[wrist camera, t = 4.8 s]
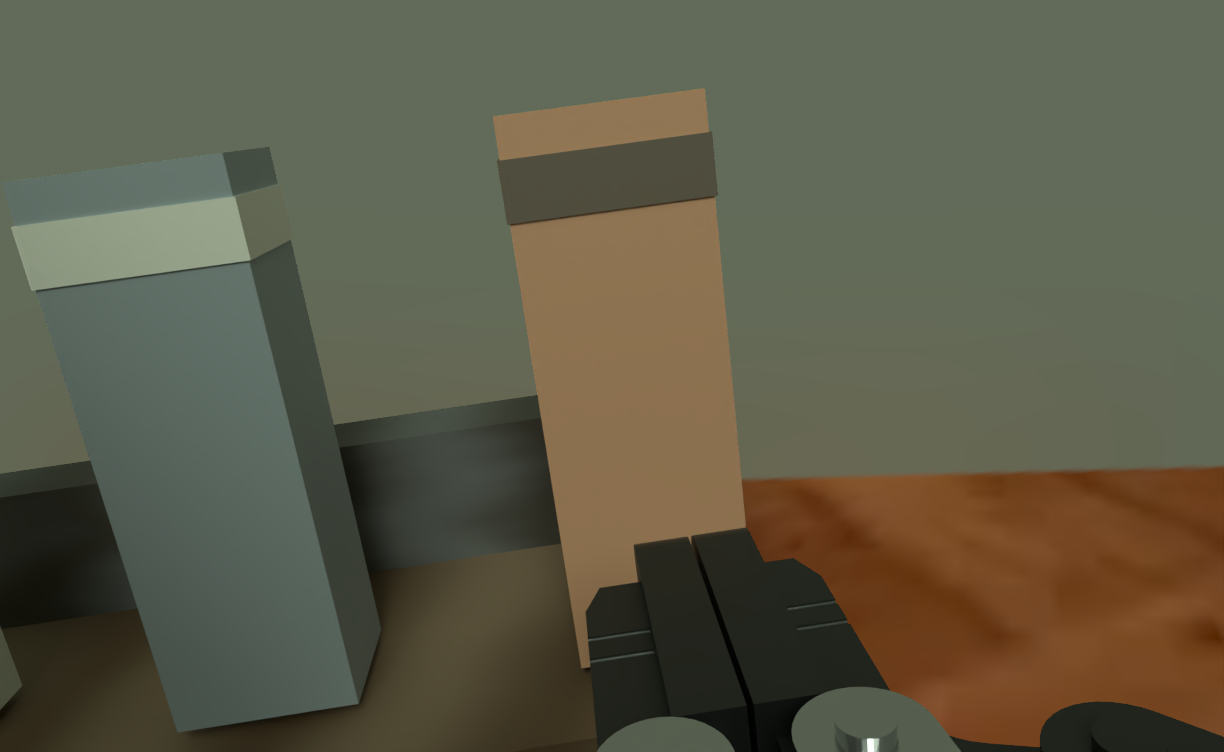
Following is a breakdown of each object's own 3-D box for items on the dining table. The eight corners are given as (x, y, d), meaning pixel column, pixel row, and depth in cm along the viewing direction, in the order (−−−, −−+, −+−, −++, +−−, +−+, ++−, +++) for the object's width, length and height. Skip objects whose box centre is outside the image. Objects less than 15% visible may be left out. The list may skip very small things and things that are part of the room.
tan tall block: (578, 669, 20) (490, 117, 17) (574, 598, 23) (497, 116, 20) (759, 641, 20) (707, 87, 17) (730, 573, 23) (682, 91, 20)
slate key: (174, 734, 20) (-4, 183, 16) (221, 653, 23) (80, 172, 19) (360, 705, 20) (223, 152, 16) (383, 628, 23) (272, 146, 19)
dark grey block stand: (-313, 948, 18) (-441, 719, 16) (0, 640, 29) (-60, 482, 27) (808, 763, 19) (790, 529, 17) (712, 531, 29) (695, 372, 28)
